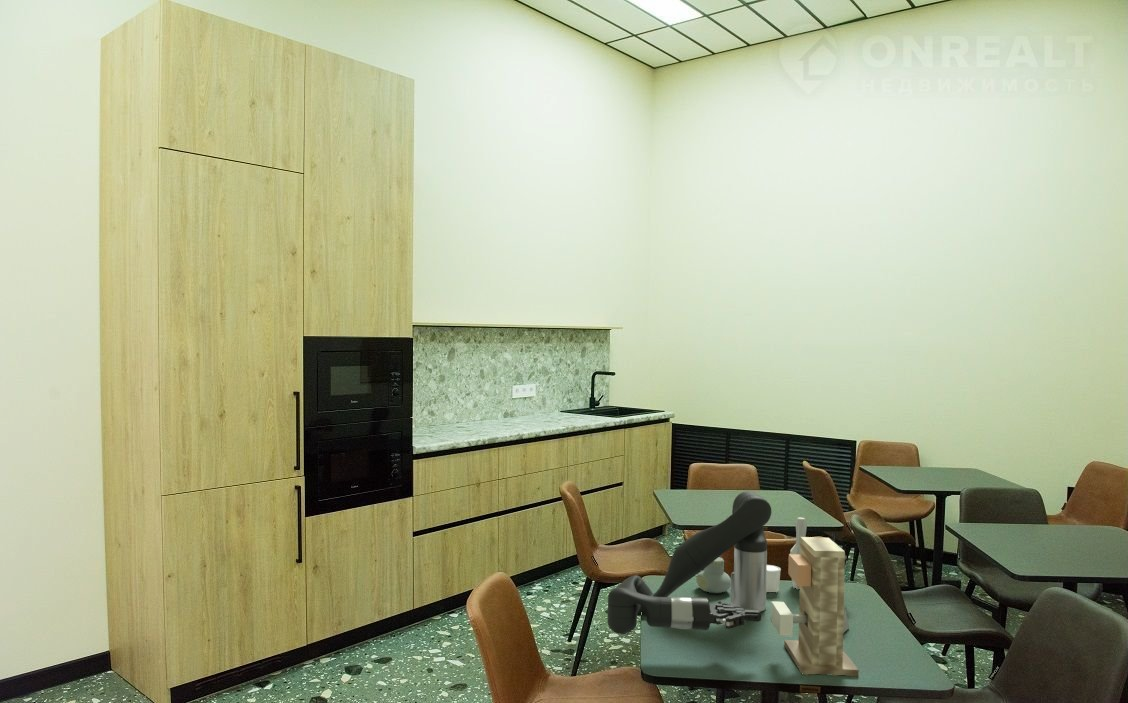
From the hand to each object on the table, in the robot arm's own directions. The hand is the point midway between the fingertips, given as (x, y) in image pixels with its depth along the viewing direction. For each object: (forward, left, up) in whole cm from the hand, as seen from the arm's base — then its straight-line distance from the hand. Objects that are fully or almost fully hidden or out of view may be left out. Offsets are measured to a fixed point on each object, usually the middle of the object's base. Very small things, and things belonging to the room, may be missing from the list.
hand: (760, 615), depth 179 cm
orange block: (+9, +8, +9) cm, 15 cm away
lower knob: (+6, +5, -3) cm, 8 cm away
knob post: (+11, +9, -10) cm, 18 cm away
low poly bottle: (-16, +57, -11) cm, 60 cm away
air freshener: (-34, +35, -11) cm, 50 cm away
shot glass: (-22, +48, -11) cm, 54 cm away
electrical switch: (+6, +30, -11) cm, 32 cm away
